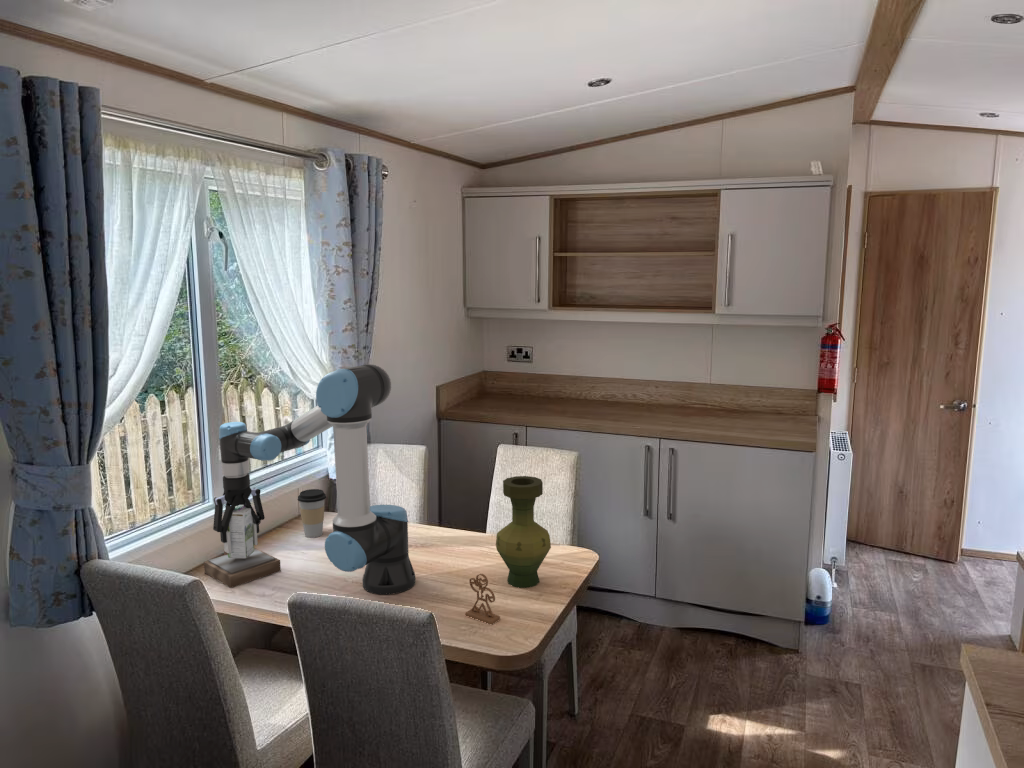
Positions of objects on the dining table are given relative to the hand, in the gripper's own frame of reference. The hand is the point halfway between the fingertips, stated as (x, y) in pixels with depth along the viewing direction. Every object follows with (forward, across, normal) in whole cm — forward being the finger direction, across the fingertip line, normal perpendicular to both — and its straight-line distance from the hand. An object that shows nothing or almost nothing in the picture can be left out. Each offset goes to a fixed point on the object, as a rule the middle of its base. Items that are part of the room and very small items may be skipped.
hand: (241, 547), depth 228 cm
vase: (+8, -51, +68) cm, 85 cm away
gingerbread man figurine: (+8, -27, +75) cm, 80 cm away
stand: (+8, 0, 0) cm, 8 cm away
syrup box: (+2, 0, 0) cm, 2 cm away
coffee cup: (+8, -32, -11) cm, 35 cm away
